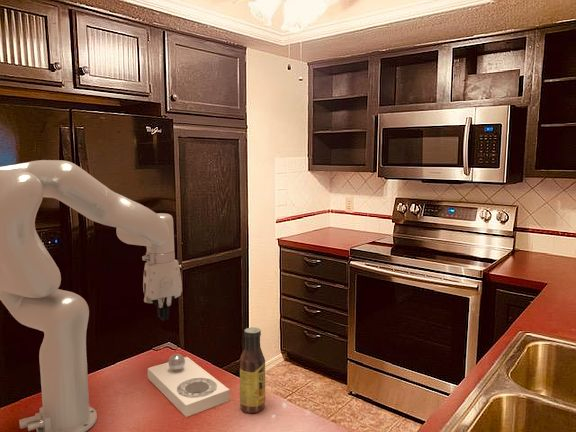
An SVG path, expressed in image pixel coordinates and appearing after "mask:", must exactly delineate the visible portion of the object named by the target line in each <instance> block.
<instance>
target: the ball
mask: <svg viewBox="0 0 576 432" xmlns="http://www.w3.org/2000/svg"><path fill="white" fill-rule="evenodd" d="M184 357H185V356H183V355H182V354H180V353H174V354H172V355H171V356H170V357H169V358H168V361H167V362H168V365H169V367H170V369H172V370H174V371H179V370H181V369H182V368H183V367H184V365H185V359H184Z"/></svg>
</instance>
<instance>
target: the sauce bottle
mask: <svg viewBox="0 0 576 432" xmlns="http://www.w3.org/2000/svg"><path fill="white" fill-rule="evenodd" d="M243 332H244V333H243V335H244V349H243V351H242V352H241V354H240V359H239V361H240V363H239V366H240V367H239V402H240V409H241V410H242V411H243V412H245V413H250V414H252V413H253V414H254V413H258V412H260V411H262V410H264V408H265V405H266V404H265V402H266V359H265V356H264V354H263V351H262V347H261V336H262V334H261V329H260V328H258V327H247V328H245V329H244V331H243Z"/></svg>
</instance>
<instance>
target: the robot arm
mask: <svg viewBox="0 0 576 432" xmlns="http://www.w3.org/2000/svg"><path fill="white" fill-rule="evenodd" d="M43 198H49V199H50V198H51V199H55V200H58V201H60V202H62V203H63V204H64V205H66V206H68V207H70V208H71V209H73V210H74V211H76V212H77V213H79V214H80V215H82V216H83V217H85V218H87V219H89V220H90V221H92V222H94V223H98V224H101V225H103V226H108V227H113V228H116V231H115V232H116V236H117V238H118V239H119V240H120V241H121V242H123V243H125V244H127V245H134V246H141V247H142V246H144V247H146V252H145V254H144V255H143V256H141V258H142V261H146V262H145V263H144V269H143V276H142V277H143V280H142V281H143V282H142V288H143V295H144V298H143V302H144V303H146V304H154V305H155V306H156V307H157V308H156V310H157V317H158V319H160V320H161V321H164V322H165V321H168V320H169V316H170V306H171V305H172V302H173V301H174V300H175V299H177V298H179V297H180V296H181V295H182V292H183V281H182V274H181V270H180V268H181V267H180V263H179V260H177V259H175V258H176V257H175V256H176V255H175V254H176V253H175V236H174V235H175V233H174V230H175V229H174V218H173V216H172V215H171V214H169V213H164V212H163V213H161V212H160V213H157V212H155V211H153V210H152V209H150V208H149V207H147V206H144V205H143V204H141V203H139V202H137V201H134V200H132V199H130V198H128V197H126V196H124V195H122V194H119V193H117V192H115V191H113V190H111V189H110V188H109V187H107V186H106V185H105V184H104V183H102V182H101V181H99V180H98V179H96V178H95V177H94V176H93V175H91V174H89V172H87V171H86V170H85V169H83V168H82V167H80V166H78V165H77V164H75V163H73V162H72V161H68V160H62V159H61V160H59V159H58V160H57V159H53V160H51V159H48V160H47V159H41V160H31V161H28V162H22V163H21V162H20V163H16V164H9V165H4V166H3V165H2V166H0V301H1V303H2V304H3V306H5V308H6V309H7V310H8V312H9V313H10V314H11V316H12V317H13V318H14V319H15V320H16V321H17V322H18V323H20V324H21V325H23V326H26V327H27V328H31V329H35V330H38V331H41V332H43V334H44V336H43V339H42V343H41V344H40V346H39V347H40V348H39V355H38V358H39V361H38V362H39V372H40V385H41V400H42V401H41V402H42V406H41V407H39V412H36V413H34V415H33V416H28V417H24V418H22V419H19V420H18V423H19V429H20V430H22V429H25V428H27V431H28V432H31V431H34V430H36V432H87V431H88V430H90V429H91V428H92V427H93V426H94V425H95V424H96V422H97V419H98V414H97V410H95V408H93V407H92V406H90V398H89V396H90V395H89V378H88V375H89V373H88V362H87V361H88V360H87V359H88V358H87V329H88V323H89V319H90V318H89V317H90V308H89V305H88V303H87V301H86V300H85V298H84V297H82V296H81V295H79V294H77V293H75V292H73V291H69V290H63V289H59V288H60V286H61V281H62V277H61V276H62V275H61V272H60V269H59V267H58V266H57V264H56V262H55V260H54V259H53V257H52V255H50V253H49V251H48V250H47V248H46V247H45V244H44V243H43V242H42V239H41V238H40V236H39V234H38V232H37V230H36V223H35V222H36V218H37V213H38V211H39V208H40V206H41V204H42V202H43Z"/></svg>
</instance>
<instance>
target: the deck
mask: <svg viewBox="0 0 576 432" xmlns="http://www.w3.org/2000/svg"><path fill="white" fill-rule="evenodd" d="M183 357H184V359H185V365H184V367H183V368H182V369H181V370H179V371H174V370H172V369H170V367H169V365H168V361H167V362H164V363H160V364H156V365H153V366H150V367H148V368H147V369H146V370H147V379H148V380H149V381H150V382H151V383H152V384H153V385H154V386H155V387H156V388H157V389H158V390H159V391H160V392H161V393H162V394H163V395H164V396H165V397H166V398H167V400H169V401H170V402H171V403H172V404H173V405H174V406H175V407H176V409H177V410H179V412H181V413H182V414H183V416H184V417H185V418H187V417H190V416H193V415H196V414H198V413H201V412H203V411H205V410H206V411H207V410H208V409H211V408H215V407H216V406H220V405H222V404H224V403H227V402H229V401H230V398H231V395H230V392H231V391H230V388H228V387H227V386H226V385H224V384H223V383H222V382H221V381H219V380H218V379H217V378H215V377H214V376H213V375H211V374H210V373H209V372H207V371H206V370H205V369H203V368H202V367H201V366H200V365H199V364H197V363H196V362H194V361H193V360H192V359H191V358H189V356H183Z"/></svg>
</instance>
